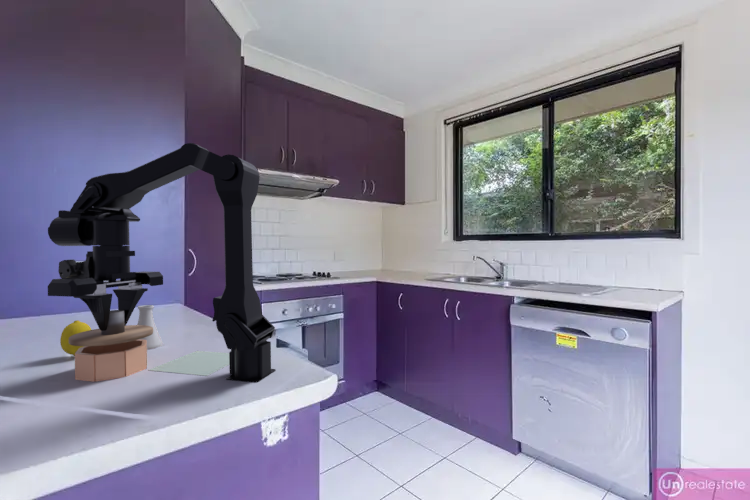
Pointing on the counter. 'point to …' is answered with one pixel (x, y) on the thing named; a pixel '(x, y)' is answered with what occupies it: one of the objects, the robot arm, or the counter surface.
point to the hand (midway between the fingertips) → (113, 328)
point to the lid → (111, 332)
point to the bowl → (110, 360)
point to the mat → (196, 363)
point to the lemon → (69, 331)
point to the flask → (148, 320)
